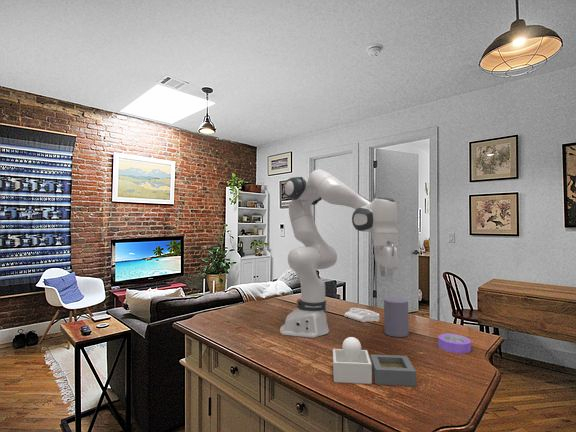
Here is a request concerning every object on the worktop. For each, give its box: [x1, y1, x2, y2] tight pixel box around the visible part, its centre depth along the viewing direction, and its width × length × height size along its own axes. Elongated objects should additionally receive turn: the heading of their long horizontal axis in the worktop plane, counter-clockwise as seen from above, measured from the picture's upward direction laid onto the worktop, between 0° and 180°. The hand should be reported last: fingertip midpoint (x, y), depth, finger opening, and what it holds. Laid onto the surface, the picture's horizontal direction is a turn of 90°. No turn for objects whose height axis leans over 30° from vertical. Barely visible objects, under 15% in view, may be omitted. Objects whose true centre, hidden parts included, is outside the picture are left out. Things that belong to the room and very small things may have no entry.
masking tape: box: [437, 333, 472, 354], centre depth 133 cm, size 12×12×4 cm
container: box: [383, 297, 410, 338], centre depth 150 cm, size 10×10×15 cm
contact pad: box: [380, 363, 403, 368], centre depth 108 cm, size 7×7×1 cm
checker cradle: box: [370, 354, 417, 387], centre depth 108 cm, size 12×12×4 cm
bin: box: [332, 348, 373, 385], centre depth 110 cm, size 12×12×6 cm
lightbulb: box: [341, 336, 362, 363], centre depth 110 cm, size 6×6×11 cm
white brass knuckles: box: [343, 307, 380, 323], centre depth 175 cm, size 3×18×15 cm
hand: (386, 278), depth 124 cm, fingers open, 8 cm apart
